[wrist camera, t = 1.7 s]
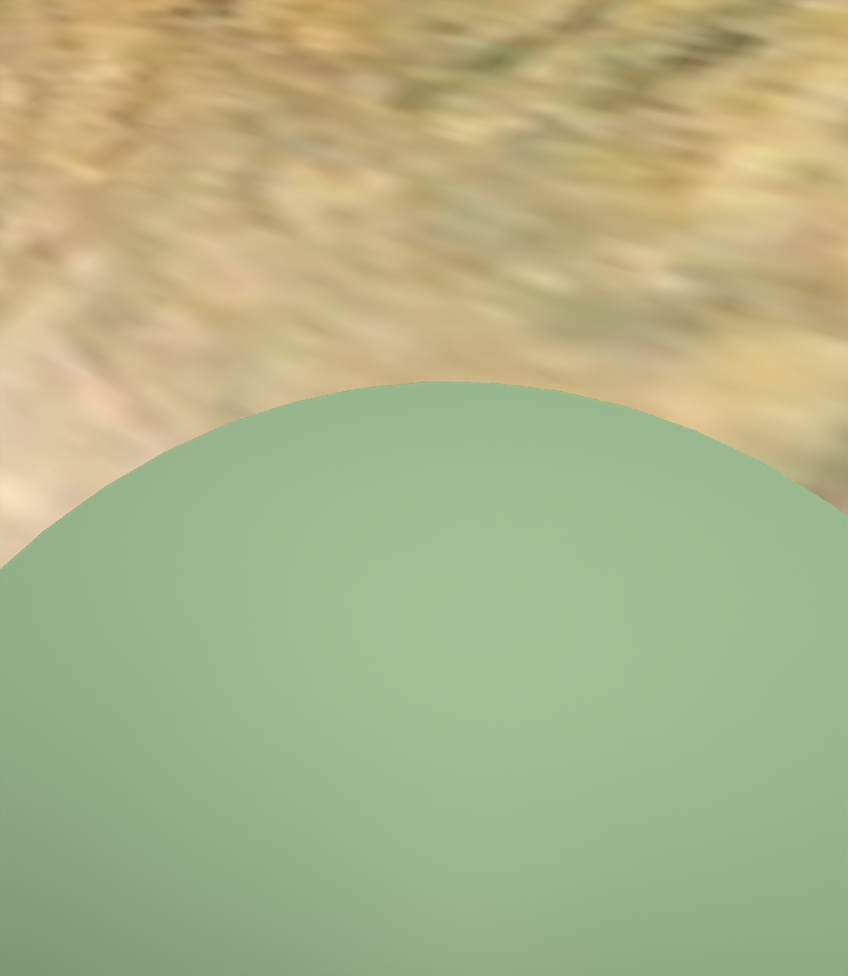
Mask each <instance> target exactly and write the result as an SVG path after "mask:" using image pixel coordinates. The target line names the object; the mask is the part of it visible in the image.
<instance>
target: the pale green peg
mask: <svg viewBox="0 0 848 976" xmlns="http://www.w3.org/2000/svg"><path fill="white" fill-rule="evenodd" d="M0 976H848V517H847V516H846V515H845V514H843V513H842V512H841V511H839V510H838V509H837V508H835V507H834V506H833V505H831V504H830V503H828V502H827V501H825V500H823V499H822V498H820V497H818V496H817V495H815V494H813V493H812V492H810V491H809V490H807V489H805V488H804V487H802V486H800V485H799V484H797V483H795V482H794V481H792V480H791V479H789V478H787V477H786V476H784V475H782V474H781V473H779V472H777V471H776V470H774V469H772V468H771V467H769V466H768V465H766V464H764V463H762V462H760V461H758V460H756V459H754V458H752V457H750V456H748V455H746V454H743V453H741V452H739V451H737V450H735V449H733V448H731V447H729V446H727V445H725V444H722V443H720V442H718V441H716V440H714V439H712V438H710V437H708V436H706V435H703V434H701V433H699V432H697V431H695V430H692V429H689V428H686V427H684V426H681V425H678V424H675V423H672V422H669V421H666V420H664V419H661V418H658V417H655V416H652V415H649V414H646V413H644V412H641V411H638V410H635V409H632V408H629V407H626V406H622V405H618V404H613V403H609V402H605V401H600V400H596V399H592V398H587V397H583V396H579V395H575V394H570V393H566V392H562V391H556V390H548V389H539V388H531V387H523V386H515V385H506V384H498V383H470V382H420V383H410V384H400V385H389V386H379V387H369V388H359V389H354V390H349V391H345V392H340V393H335V394H330V395H326V396H321V397H316V398H311V399H306V400H302V401H297V402H293V403H290V404H287V405H283V406H280V407H277V408H274V409H271V410H268V411H265V412H262V413H259V414H256V415H253V416H250V417H247V418H243V419H240V420H237V421H234V422H231V423H228V424H226V425H224V426H222V427H220V428H217V429H215V430H213V431H211V432H208V433H206V434H204V435H202V436H199V437H197V438H195V439H193V440H190V441H188V442H186V443H184V444H181V445H179V446H177V447H175V448H172V449H170V450H168V451H166V452H164V453H162V454H161V455H159V456H157V457H156V458H154V459H152V460H150V461H149V462H147V463H145V464H143V465H142V466H140V467H138V468H136V469H135V470H133V471H131V472H130V473H128V474H126V475H124V476H123V477H121V478H119V479H117V480H116V481H114V482H112V483H111V484H109V485H107V486H105V487H104V488H102V489H101V490H100V491H98V492H97V493H96V494H94V495H93V496H91V497H90V498H89V499H87V500H86V501H84V502H83V503H82V504H80V505H79V506H78V507H76V508H75V509H73V510H72V511H71V512H69V513H68V514H66V515H65V516H64V517H62V518H61V519H60V520H58V521H57V522H55V523H54V524H53V525H51V526H50V527H49V528H47V529H46V530H44V531H43V532H42V533H41V534H40V535H39V536H38V537H36V538H35V539H34V540H33V541H32V542H31V543H30V544H29V545H27V546H26V547H25V548H24V549H23V550H22V551H21V552H20V553H18V554H17V555H16V556H15V557H14V558H13V559H12V560H11V561H9V562H8V563H7V564H6V565H5V566H4V567H3V568H2V569H0Z"/></svg>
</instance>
